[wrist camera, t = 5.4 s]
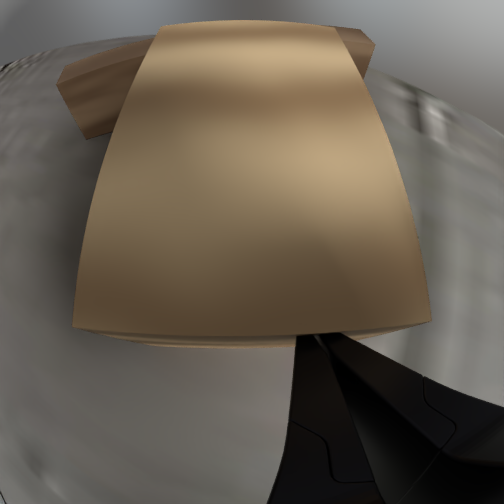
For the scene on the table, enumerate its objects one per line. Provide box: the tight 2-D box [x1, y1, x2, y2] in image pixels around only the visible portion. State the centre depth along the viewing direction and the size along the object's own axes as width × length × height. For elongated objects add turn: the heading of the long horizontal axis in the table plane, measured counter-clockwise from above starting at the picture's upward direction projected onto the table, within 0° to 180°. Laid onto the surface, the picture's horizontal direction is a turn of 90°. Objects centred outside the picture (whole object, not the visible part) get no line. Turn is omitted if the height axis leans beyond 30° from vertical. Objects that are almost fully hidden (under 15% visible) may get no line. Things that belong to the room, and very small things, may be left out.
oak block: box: [72, 20, 432, 348], centre depth 13 cm, size 16×10×8 cm, turn 1°
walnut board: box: [56, 25, 375, 139], centre depth 18 cm, size 2×22×6 cm, turn 101°
